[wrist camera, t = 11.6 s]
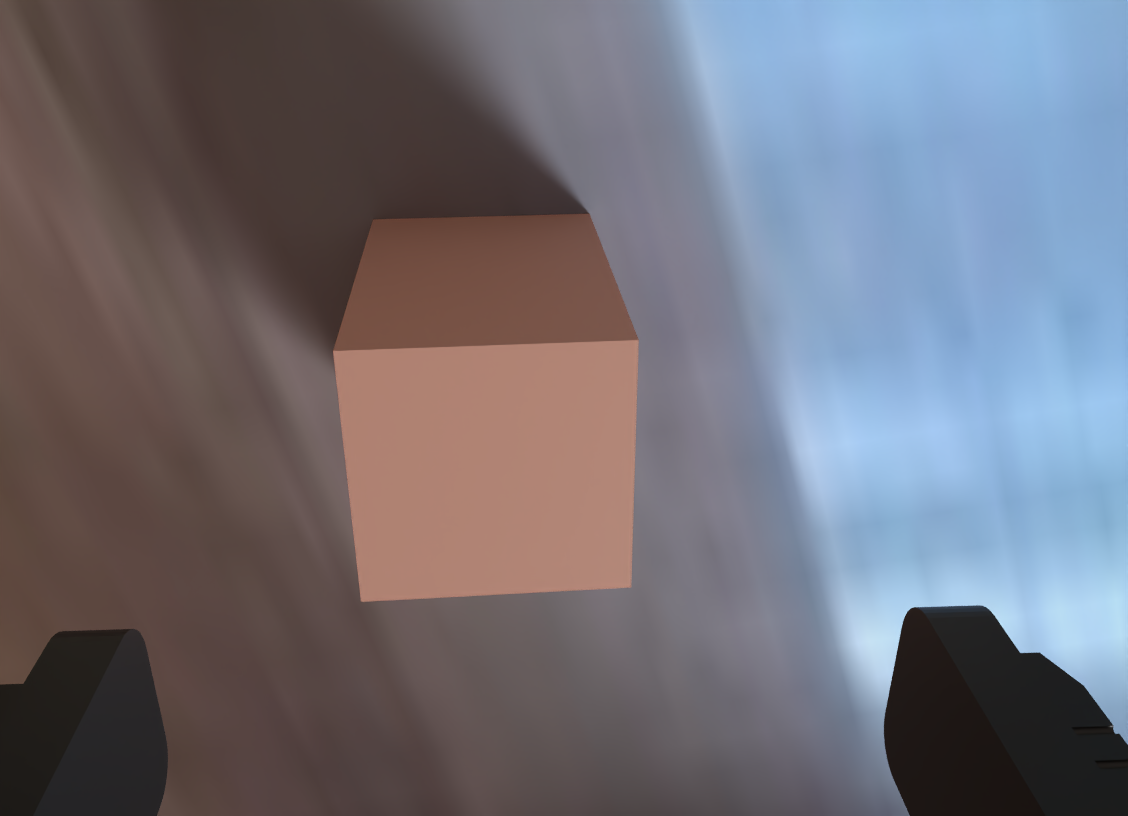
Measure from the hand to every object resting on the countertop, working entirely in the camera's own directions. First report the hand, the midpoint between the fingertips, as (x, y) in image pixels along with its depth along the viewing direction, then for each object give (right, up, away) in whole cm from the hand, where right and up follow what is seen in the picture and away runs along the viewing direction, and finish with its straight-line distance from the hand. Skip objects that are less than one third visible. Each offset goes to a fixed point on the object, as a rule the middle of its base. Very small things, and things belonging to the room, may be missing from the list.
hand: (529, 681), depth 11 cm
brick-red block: (-1, +5, +12) cm, 13 cm away
